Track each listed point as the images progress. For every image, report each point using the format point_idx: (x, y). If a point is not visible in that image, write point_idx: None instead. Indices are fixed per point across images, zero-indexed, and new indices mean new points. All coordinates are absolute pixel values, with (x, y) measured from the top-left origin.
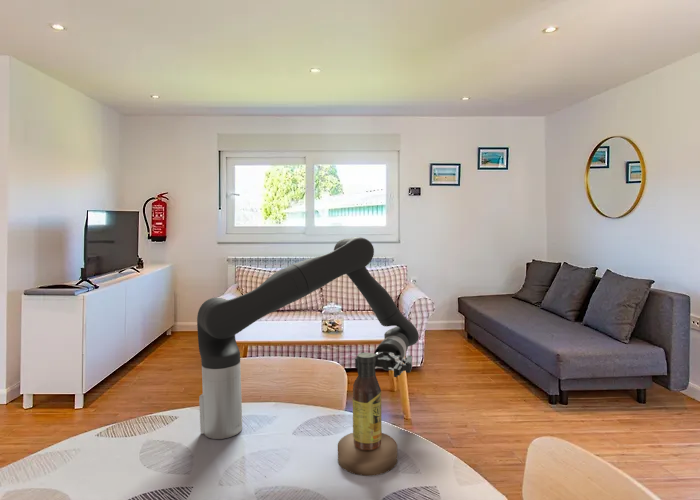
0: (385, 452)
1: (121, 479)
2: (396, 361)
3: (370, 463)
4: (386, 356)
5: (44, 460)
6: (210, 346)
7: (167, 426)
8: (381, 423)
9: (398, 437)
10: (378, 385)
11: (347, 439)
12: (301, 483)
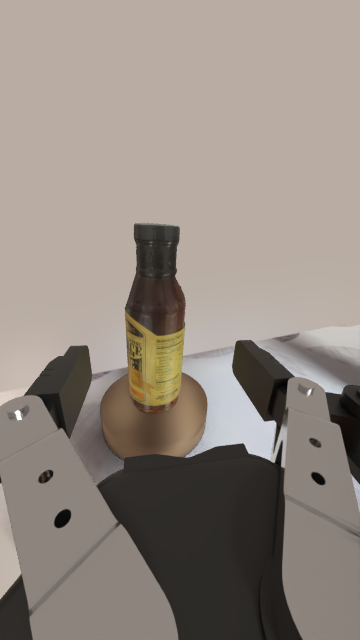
0: (120, 390)
1: (332, 336)
2: (50, 419)
3: None
4: (197, 616)
5: None
6: None
7: None
8: (128, 369)
9: None
10: (129, 295)
11: (195, 401)
12: (206, 361)
